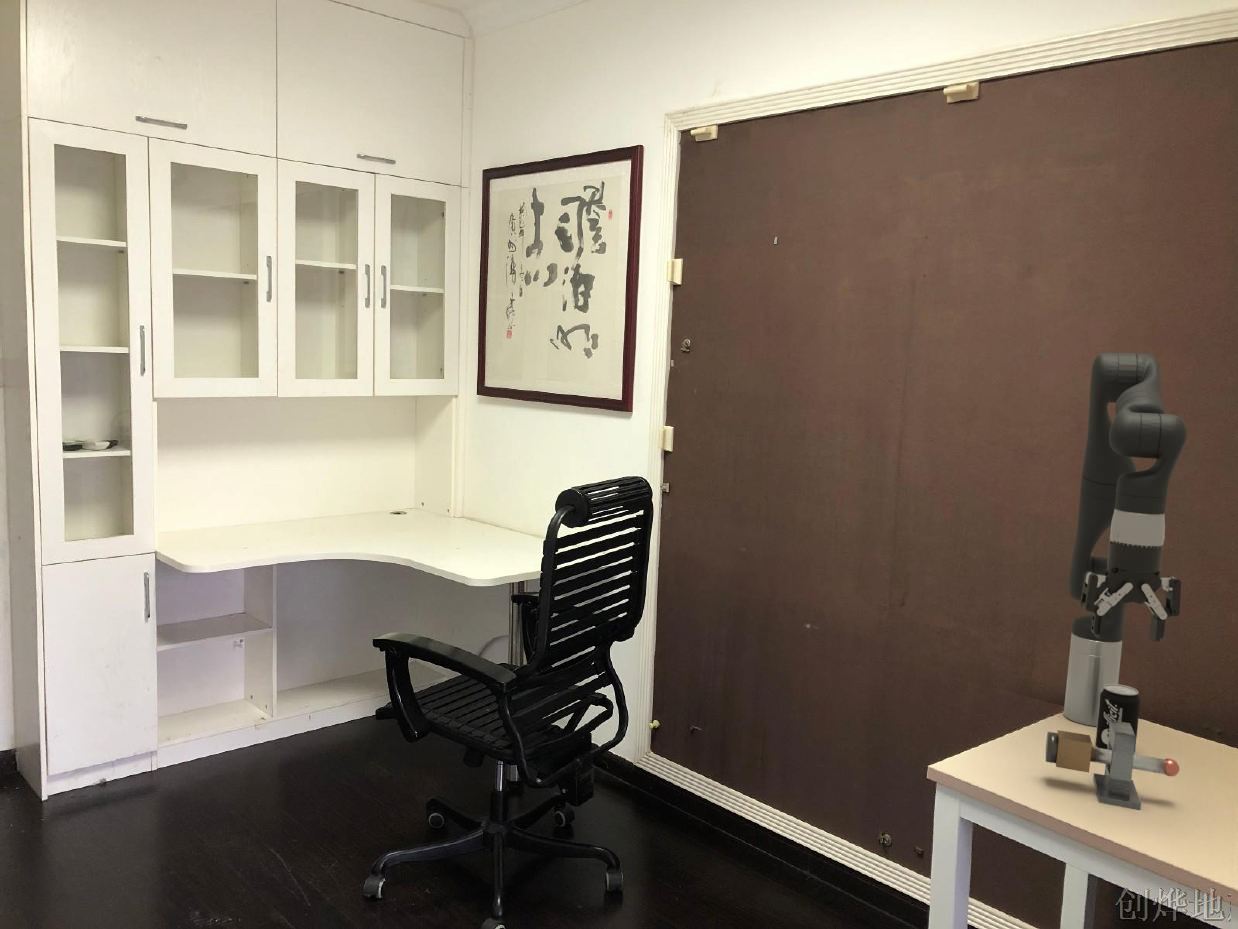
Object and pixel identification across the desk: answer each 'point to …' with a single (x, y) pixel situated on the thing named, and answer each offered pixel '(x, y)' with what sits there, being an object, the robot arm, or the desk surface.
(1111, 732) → the square loop bracket
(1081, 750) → the metal rod with knob
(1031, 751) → the desk surface
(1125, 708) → the beverage can
